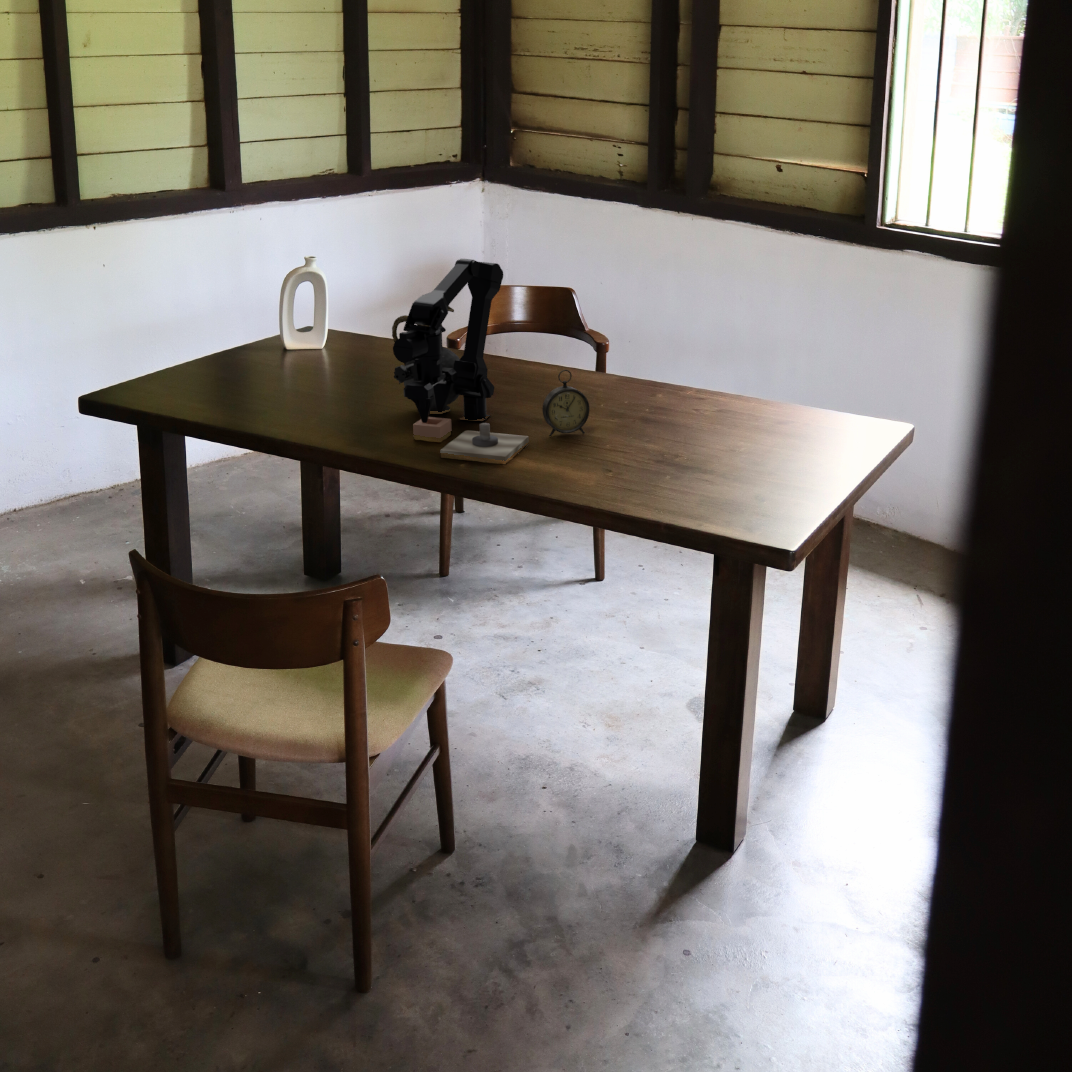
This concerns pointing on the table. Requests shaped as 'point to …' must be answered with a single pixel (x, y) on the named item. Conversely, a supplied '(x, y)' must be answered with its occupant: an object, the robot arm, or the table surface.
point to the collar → (432, 427)
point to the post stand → (485, 444)
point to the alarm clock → (565, 408)
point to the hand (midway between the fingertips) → (432, 417)
